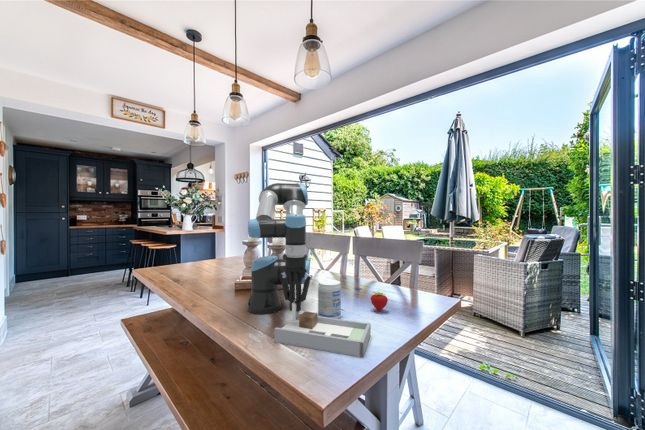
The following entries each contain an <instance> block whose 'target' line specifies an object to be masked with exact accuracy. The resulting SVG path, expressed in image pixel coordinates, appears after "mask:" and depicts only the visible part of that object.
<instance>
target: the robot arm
mask: <svg viewBox="0 0 645 430" xmlns="http://www.w3.org/2000/svg"><path fill="white" fill-rule="evenodd" d="M308 195H309V193H308V190H307V186H306V185H305V184H304V183H298V182H295V183H286V182H284V183H282V182H281V183H280V182H277V183H276V182H275V183H272V184H269V185H267V186H265V188H263V189H262V190H261V191H260V193H259V196H258V202H259V204H258V208H257V212H256V216H255V218H251V219H249V220H248V224H247V234H248V237H249V238H253V239H271V238H272V239H279V238H280V239H281V238H282V239H285V243H284V244H285V246H284V247H285V249H284V253H283V254H282V255H281V256H282V258H278V255H266V256H261V257H258V258H255V259H253V260H252V262H251V267H250V268H251V270H250V272H251V278H250V279H251V282H250V283H251V285H250V286H251V288H250V289H251V290H250V291H251V292H250V296H249V299H248V301H247V305H246V309H247V311H248V312H249V313H251V314H255V315H266V314H273V313H276V312H278V311H279V310H281V309H282V300H281V297H280V295H279V292H278V286H282V292H283V296H284V300H285V301H288V302H289V311H290V312H291V320H292V321H297V320H298V319H299V314H300V311H301V310H302V309H301V308H302V303H303V302H305V301H306V299H307V295H308V290H309V288H310V287H309V286H310V284H311V283H310V282H311V280H312V279H313V275H312V274H310V270H311V259H310V258H309V257H308V255H307V252H306V250H307V249H306V244H307V243H306V239H307V237H306V236H307V235H306V233H307V232H306V230H307V229H306V228H307V222H306V221H307V219H306V215H305V214H303V211H304V210H305V208H306V206H307V205H308V204H309V196H308ZM276 206H283V207H282V208H283V209H284V211H285V218H282V219H279V218H275V211H276ZM302 285H303V286H302Z"/></svg>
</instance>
